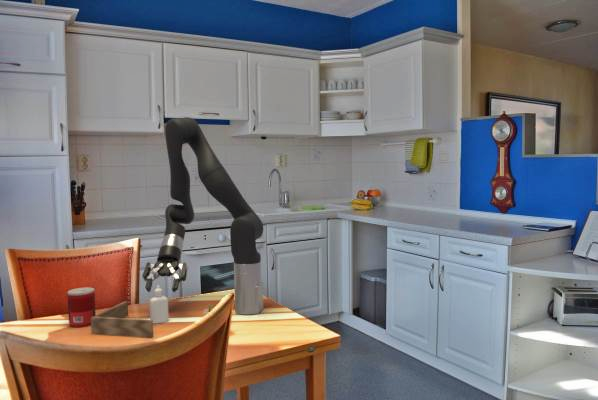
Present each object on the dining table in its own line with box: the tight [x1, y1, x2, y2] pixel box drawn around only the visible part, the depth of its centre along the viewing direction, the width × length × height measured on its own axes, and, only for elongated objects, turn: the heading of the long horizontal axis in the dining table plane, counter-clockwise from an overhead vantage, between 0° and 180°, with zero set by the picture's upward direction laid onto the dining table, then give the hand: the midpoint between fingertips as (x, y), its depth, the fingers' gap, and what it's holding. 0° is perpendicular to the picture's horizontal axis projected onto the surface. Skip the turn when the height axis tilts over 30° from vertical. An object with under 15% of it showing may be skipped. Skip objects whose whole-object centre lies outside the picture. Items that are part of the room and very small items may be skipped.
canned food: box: [67, 286, 97, 328], centre depth 155 cm, size 8×8×11 cm
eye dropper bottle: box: [149, 284, 170, 325], centre depth 156 cm, size 4×6×12 cm
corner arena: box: [90, 300, 154, 339], centre depth 152 cm, size 20×18×5 cm
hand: (160, 290), depth 158 cm, fingers open, 8 cm apart
